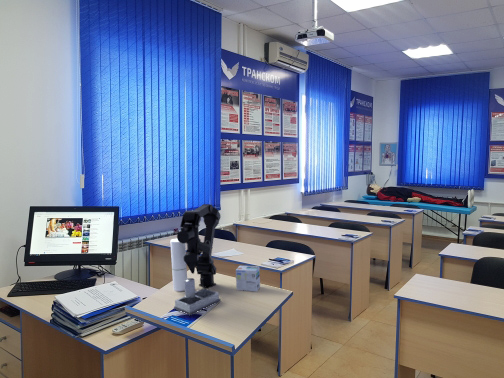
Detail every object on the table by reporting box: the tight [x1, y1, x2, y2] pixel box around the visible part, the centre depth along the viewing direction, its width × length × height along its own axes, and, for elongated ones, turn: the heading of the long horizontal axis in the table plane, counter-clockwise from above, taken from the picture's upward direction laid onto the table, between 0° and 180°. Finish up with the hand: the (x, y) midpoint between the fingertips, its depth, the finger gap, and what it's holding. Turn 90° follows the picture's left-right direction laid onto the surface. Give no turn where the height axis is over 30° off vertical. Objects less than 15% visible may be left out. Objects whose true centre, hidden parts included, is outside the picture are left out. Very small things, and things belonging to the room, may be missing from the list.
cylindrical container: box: [169, 238, 188, 292], centre depth 187 cm, size 7×7×25 cm
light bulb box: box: [235, 264, 261, 293], centre depth 185 cm, size 11×7×11 cm, turn 74°
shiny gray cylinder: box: [184, 277, 196, 305], centre depth 164 cm, size 4×4×12 cm
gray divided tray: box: [173, 287, 221, 316], centre depth 168 cm, size 18×11×4 cm, turn 140°
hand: (194, 270), depth 176 cm, fingers open, 9 cm apart
